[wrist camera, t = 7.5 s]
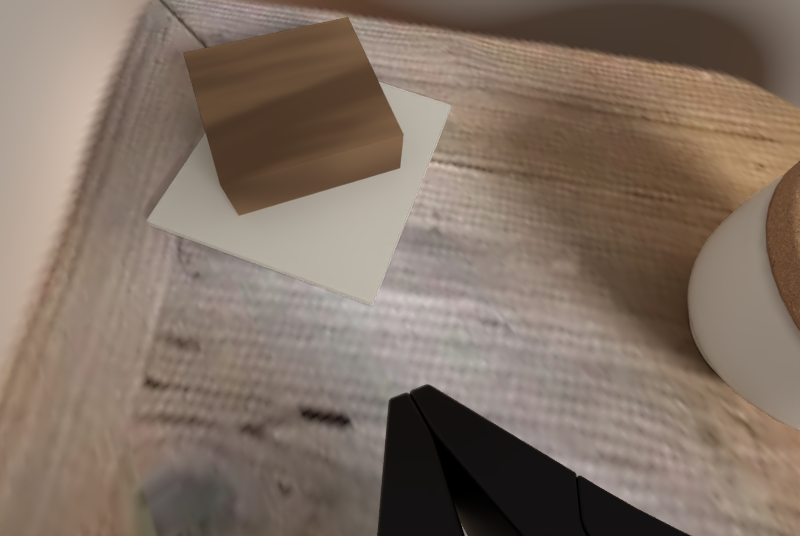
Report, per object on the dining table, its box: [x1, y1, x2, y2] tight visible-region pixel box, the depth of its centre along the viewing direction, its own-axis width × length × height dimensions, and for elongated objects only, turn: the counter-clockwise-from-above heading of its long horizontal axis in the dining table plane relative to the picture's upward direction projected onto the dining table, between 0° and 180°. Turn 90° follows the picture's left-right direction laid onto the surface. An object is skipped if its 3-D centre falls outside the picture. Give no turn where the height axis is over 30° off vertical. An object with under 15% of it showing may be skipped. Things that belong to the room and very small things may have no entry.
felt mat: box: [146, 82, 451, 306], centre depth 25 cm, size 13×14×1 cm
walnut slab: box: [183, 17, 404, 216], centre depth 24 cm, size 3×10×9 cm
